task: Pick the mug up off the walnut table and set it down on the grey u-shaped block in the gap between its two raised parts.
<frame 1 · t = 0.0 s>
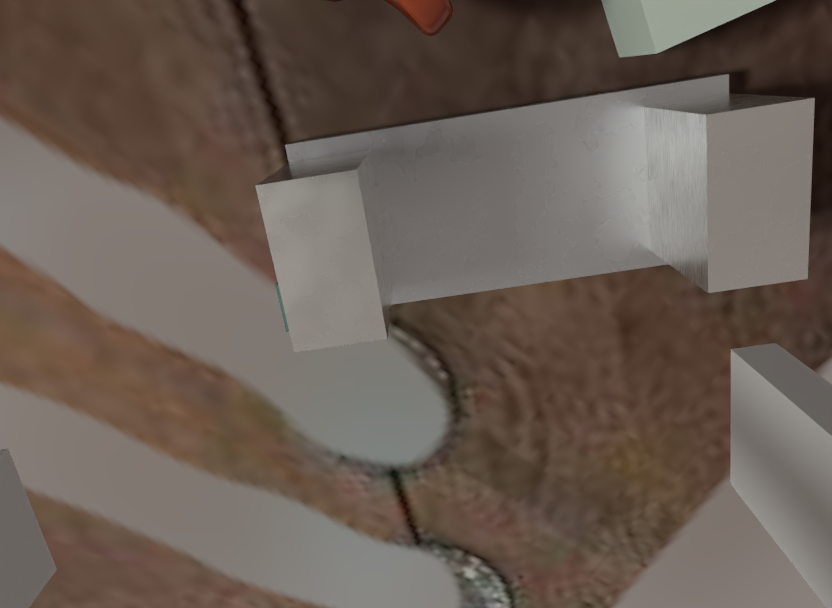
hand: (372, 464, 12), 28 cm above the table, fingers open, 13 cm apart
grey u-shaped block: (509, 197, 38), on the table
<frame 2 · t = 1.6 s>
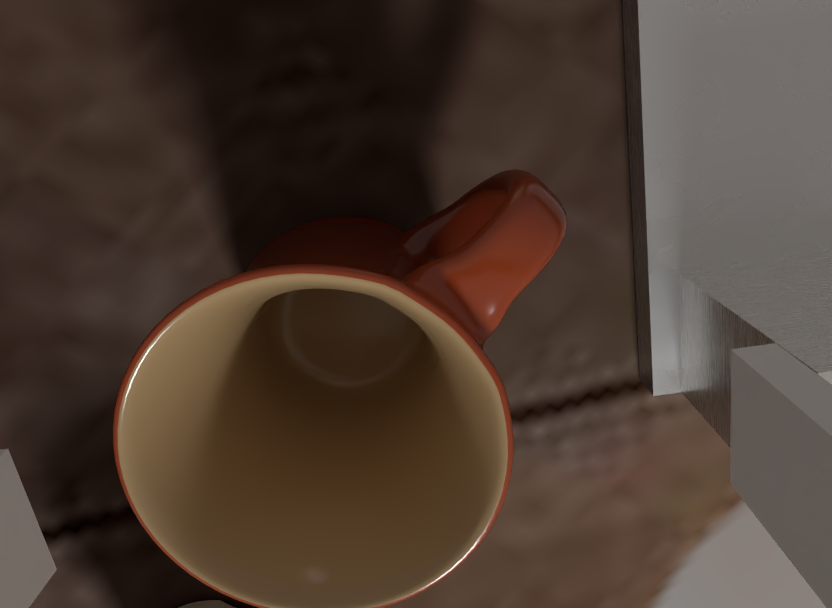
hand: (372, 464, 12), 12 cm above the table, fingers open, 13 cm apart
mug: (382, 274, 24), on the table
grey u-shaped block: (780, 18, 21), on the table
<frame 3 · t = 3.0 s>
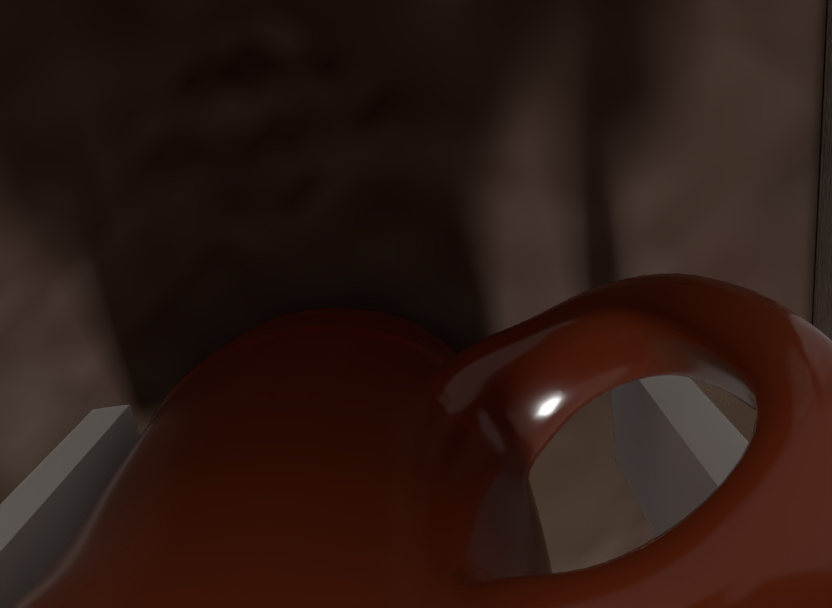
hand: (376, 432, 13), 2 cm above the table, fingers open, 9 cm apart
mug: (394, 392, 15), on the table, touching gripper
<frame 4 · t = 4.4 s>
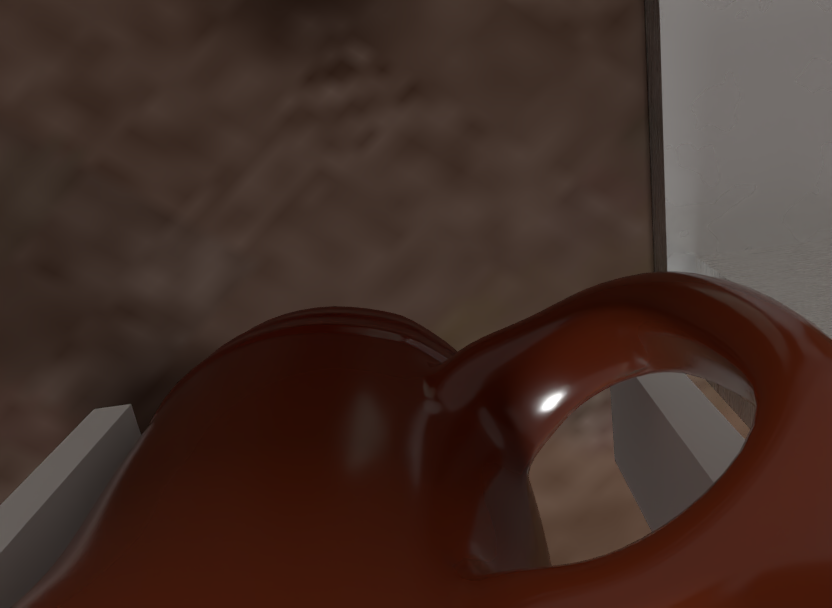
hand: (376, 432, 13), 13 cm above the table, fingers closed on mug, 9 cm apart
mug: (394, 390, 15), point 11 cm above the table, touching gripper
grey u-shaped block: (795, 16, 22), on the table
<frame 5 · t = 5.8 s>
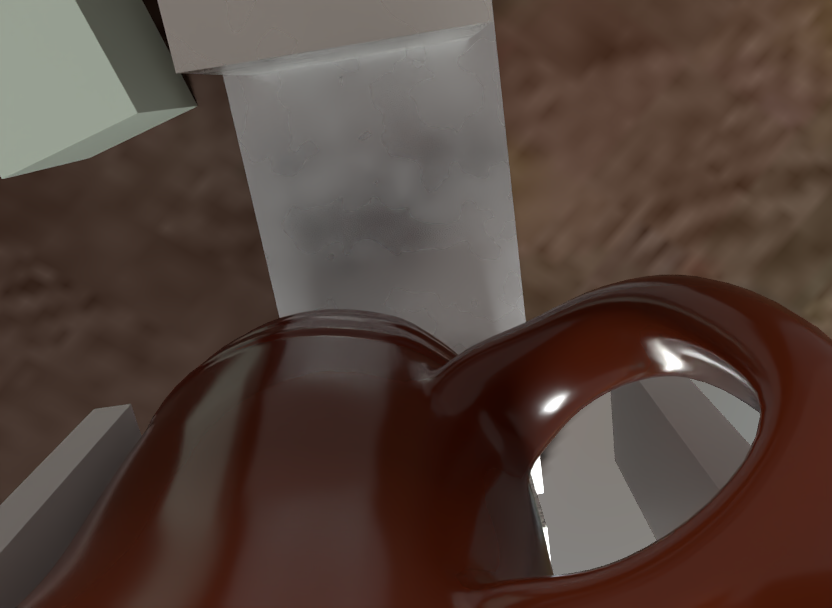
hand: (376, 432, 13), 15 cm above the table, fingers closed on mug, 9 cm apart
mug: (394, 393, 15), point 14 cm above the table, touching gripper
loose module: (95, 46, 25), on the table
grey u-shaped block: (393, 246, 28), on the table
when the fingers open (3 cm above the table, at t = 8.1 s): mug stays where it is, resting on grey u-shaped block.
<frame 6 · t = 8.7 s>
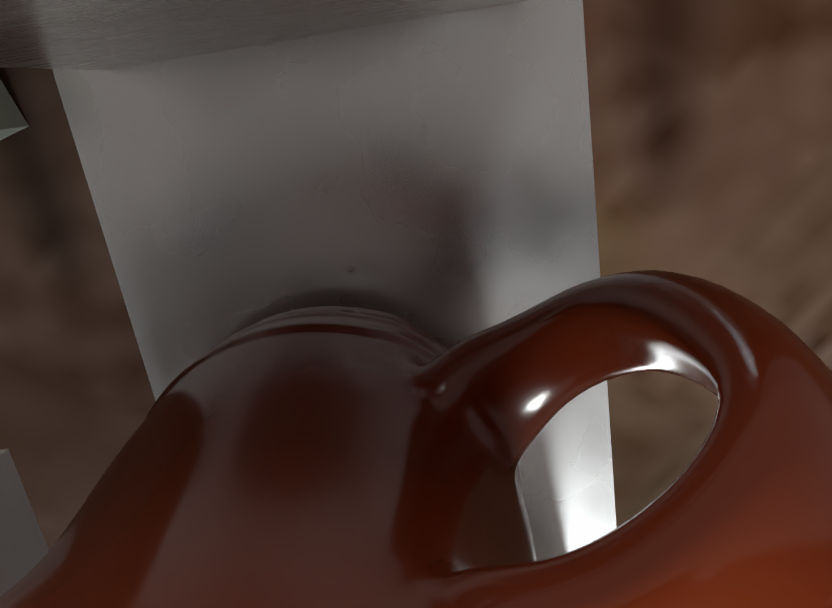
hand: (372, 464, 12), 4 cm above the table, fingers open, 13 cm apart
mug: (389, 389, 15), point 1 cm above the table, touching grey u-shaped block
grey u-shaped block: (383, 366, 16), on the table
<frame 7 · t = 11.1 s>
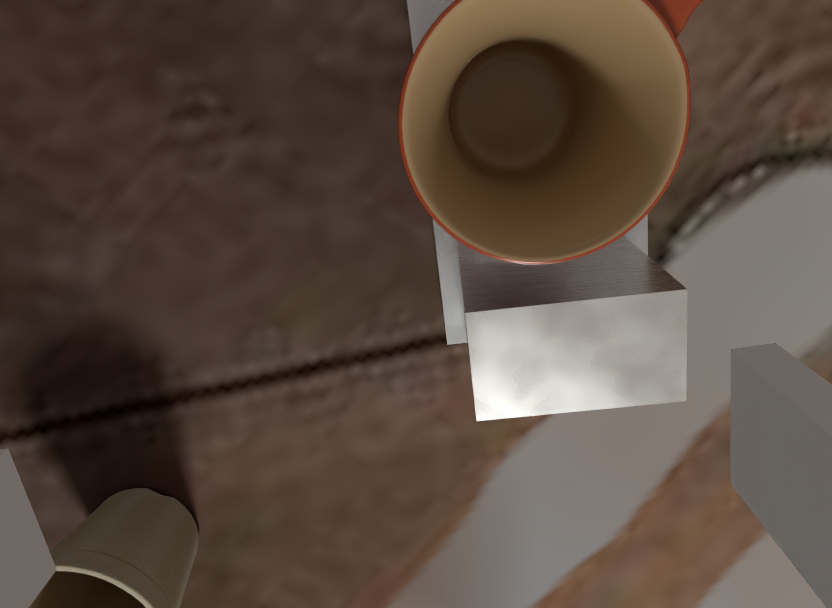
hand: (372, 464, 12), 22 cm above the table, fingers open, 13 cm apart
mug: (534, 81, 29), point 1 cm above the table, touching grey u-shaped block
grey u-shaped block: (526, 82, 30), on the table
flower pot: (150, 526, 40), on the table
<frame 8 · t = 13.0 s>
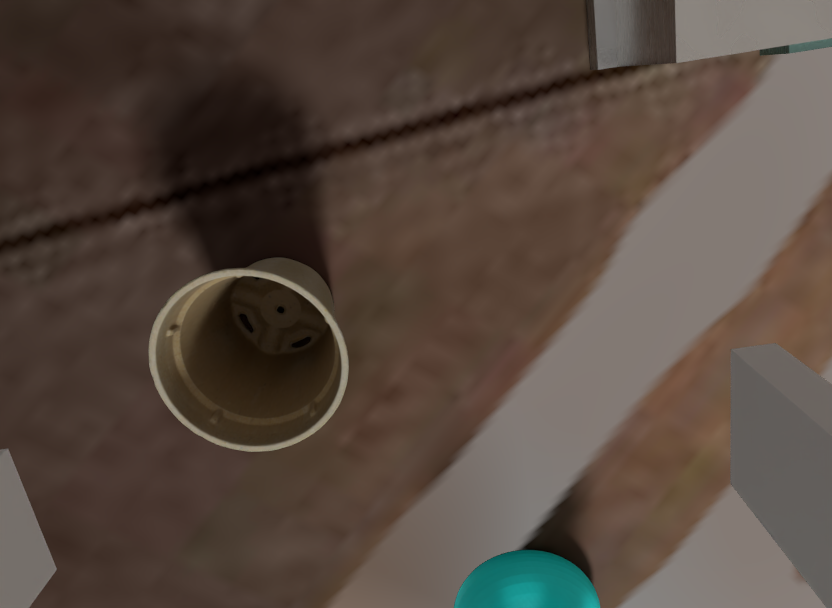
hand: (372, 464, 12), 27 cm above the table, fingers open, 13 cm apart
flower pot: (283, 304, 39), on the table
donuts: (522, 596, 47), on the table
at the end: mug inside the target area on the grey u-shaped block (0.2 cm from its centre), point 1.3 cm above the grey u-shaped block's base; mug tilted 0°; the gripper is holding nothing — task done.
